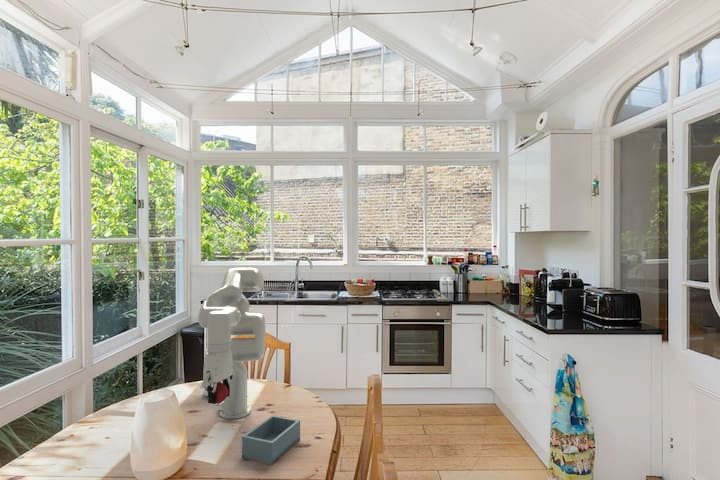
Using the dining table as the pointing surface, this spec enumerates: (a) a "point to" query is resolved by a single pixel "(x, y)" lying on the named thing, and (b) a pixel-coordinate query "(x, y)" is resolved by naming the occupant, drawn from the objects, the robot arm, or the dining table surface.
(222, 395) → the red round fruit
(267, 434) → the blue-grey open box
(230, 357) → the robot arm
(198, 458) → the dining table surface
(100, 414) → the dining table surface
